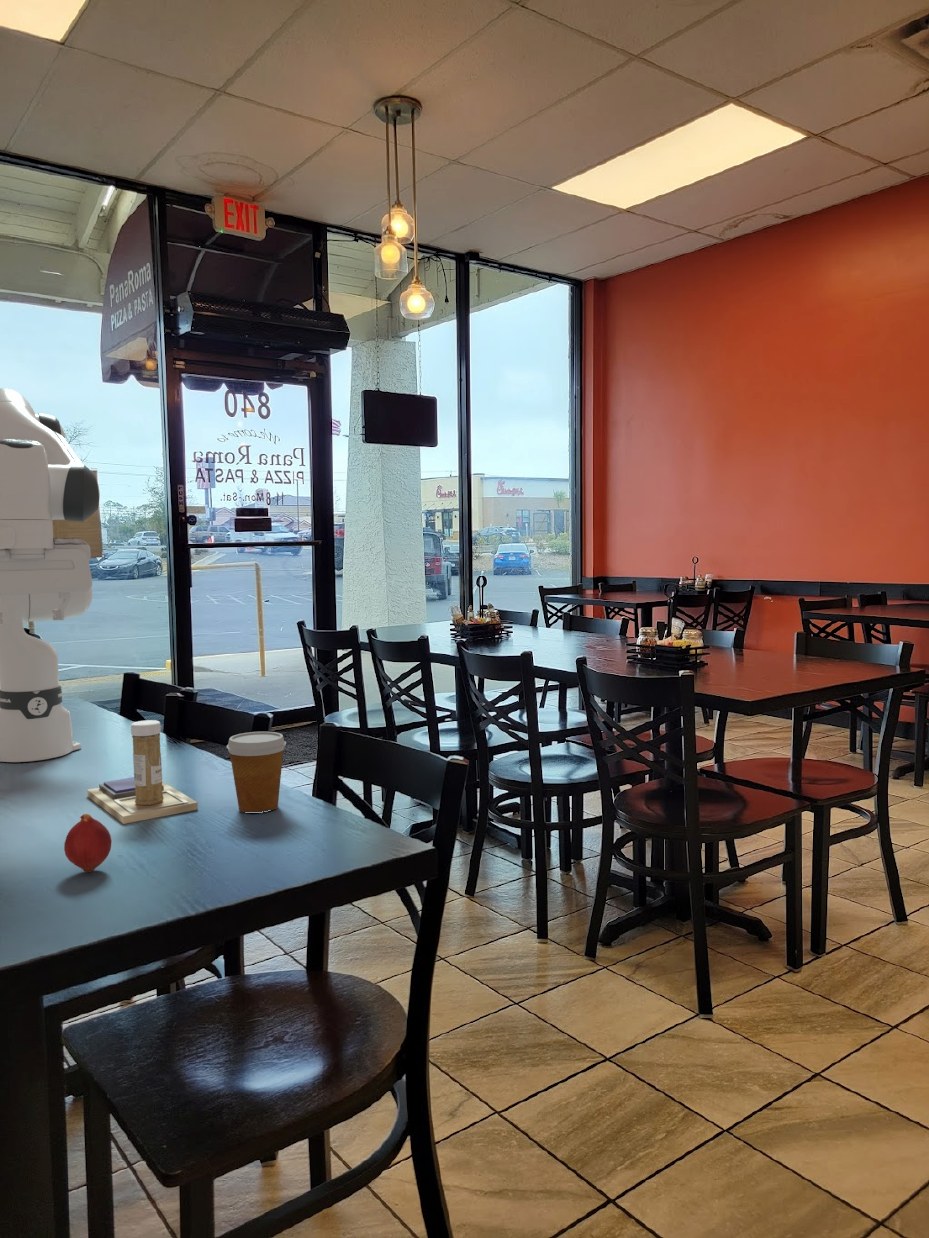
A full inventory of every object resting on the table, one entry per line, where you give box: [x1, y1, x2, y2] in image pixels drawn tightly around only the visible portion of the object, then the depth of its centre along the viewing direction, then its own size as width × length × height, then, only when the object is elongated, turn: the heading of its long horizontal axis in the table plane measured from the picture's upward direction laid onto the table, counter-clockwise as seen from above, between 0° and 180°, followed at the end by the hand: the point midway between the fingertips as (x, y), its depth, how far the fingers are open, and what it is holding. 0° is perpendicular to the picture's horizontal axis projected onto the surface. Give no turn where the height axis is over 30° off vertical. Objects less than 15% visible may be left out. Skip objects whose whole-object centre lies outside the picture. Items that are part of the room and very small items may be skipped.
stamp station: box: [86, 776, 199, 825], centre depth 152 cm, size 20×12×2 cm, turn 38°
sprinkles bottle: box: [130, 719, 164, 805], centre depth 147 cm, size 5×5×14 cm
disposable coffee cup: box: [226, 731, 287, 813], centre depth 147 cm, size 10×10×12 cm
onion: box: [63, 813, 113, 873], centre depth 120 cm, size 6×6×8 cm
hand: (28, 621), depth 149 cm, fingers open, 8 cm apart
